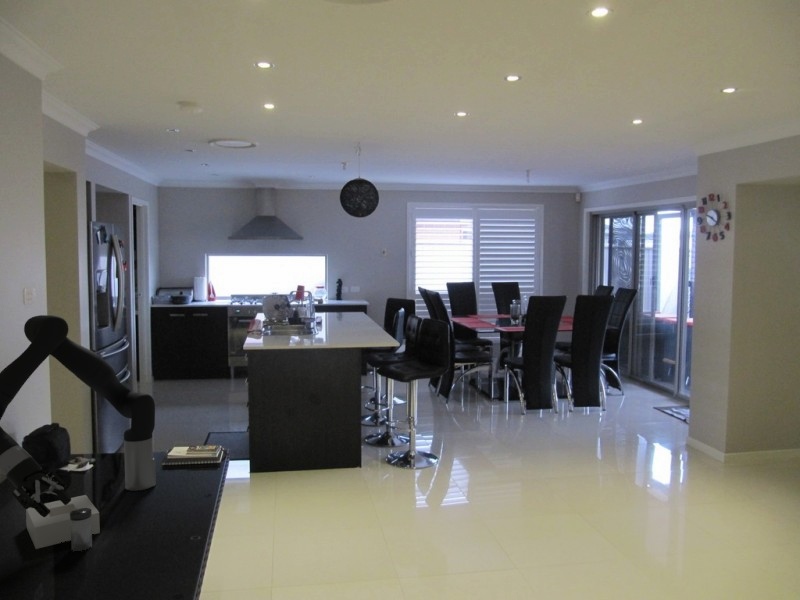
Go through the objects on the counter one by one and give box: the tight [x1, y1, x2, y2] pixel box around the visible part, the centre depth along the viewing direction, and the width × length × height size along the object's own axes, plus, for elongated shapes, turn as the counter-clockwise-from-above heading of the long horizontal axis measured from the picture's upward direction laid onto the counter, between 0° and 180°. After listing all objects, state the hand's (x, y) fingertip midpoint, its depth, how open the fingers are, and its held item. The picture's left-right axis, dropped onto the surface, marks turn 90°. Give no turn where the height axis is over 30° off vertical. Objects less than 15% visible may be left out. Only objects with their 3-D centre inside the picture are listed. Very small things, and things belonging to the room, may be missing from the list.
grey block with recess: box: [25, 494, 101, 550], centre depth 177 cm, size 16×18×6 cm
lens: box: [70, 508, 93, 552], centre depth 166 cm, size 5×5×10 cm
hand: (58, 508), depth 166 cm, fingers open, 8 cm apart
